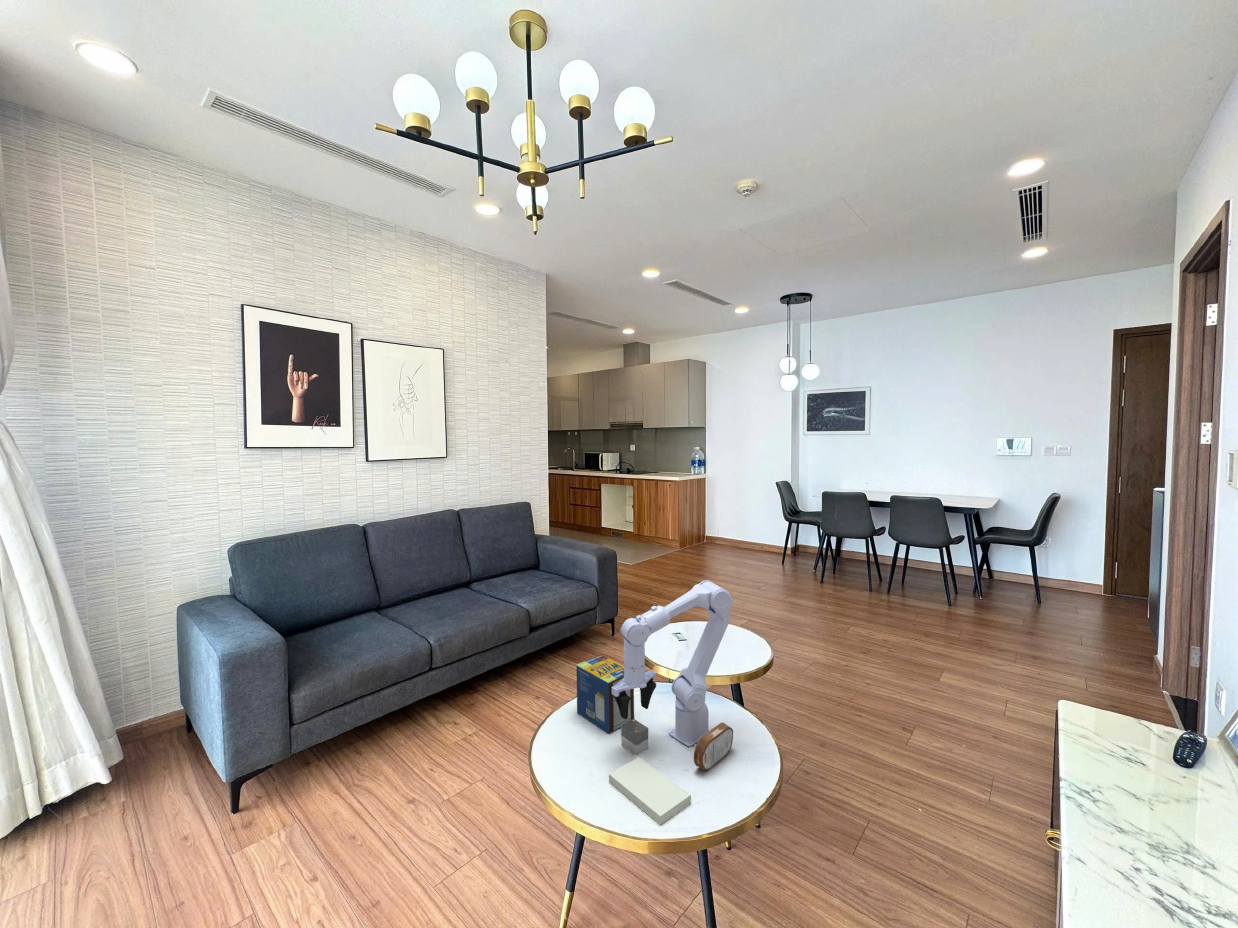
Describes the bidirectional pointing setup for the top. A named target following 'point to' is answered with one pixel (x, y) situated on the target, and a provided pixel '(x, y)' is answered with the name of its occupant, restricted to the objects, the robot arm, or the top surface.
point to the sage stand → (650, 790)
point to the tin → (713, 746)
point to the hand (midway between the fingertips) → (634, 712)
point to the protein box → (601, 693)
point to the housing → (634, 737)
